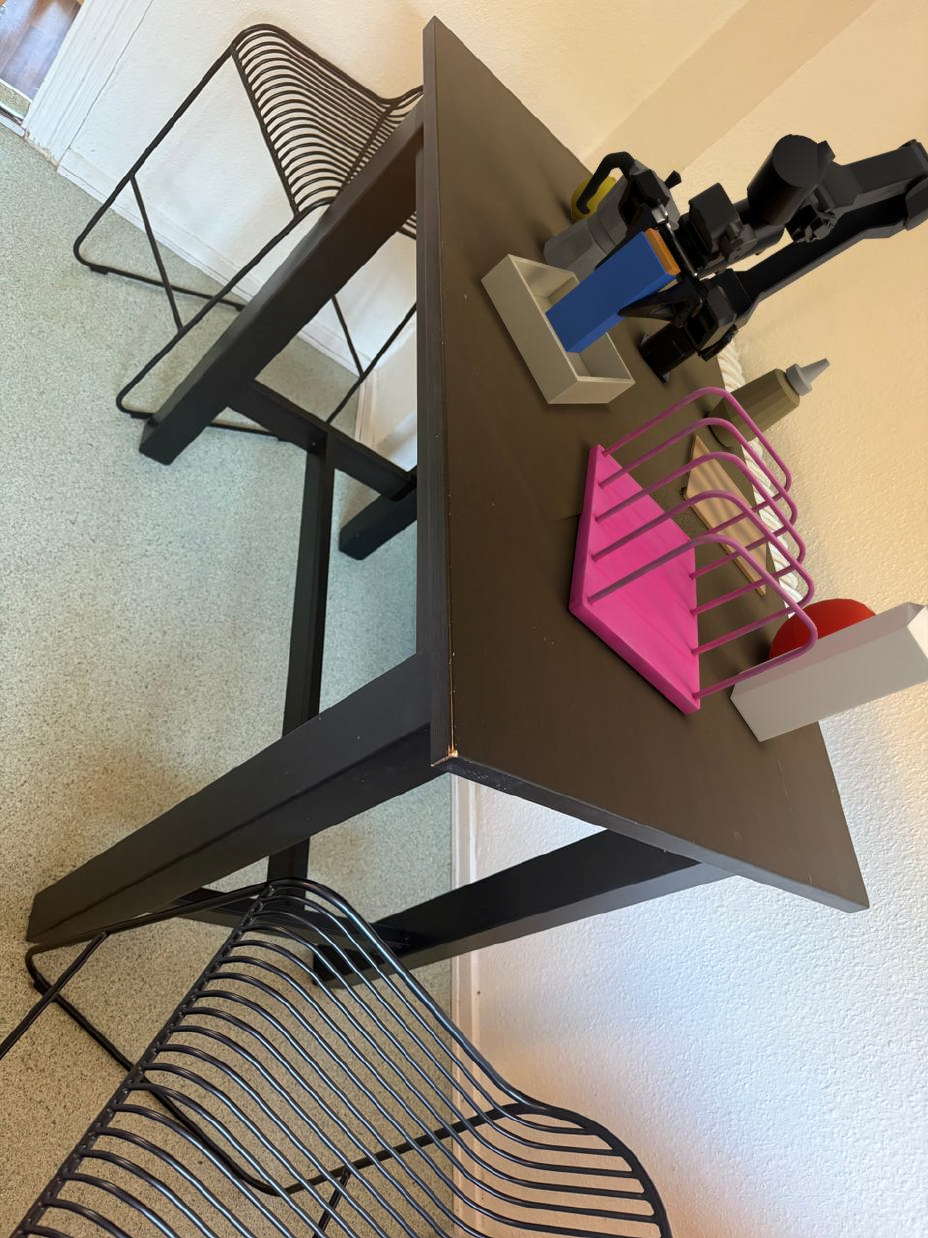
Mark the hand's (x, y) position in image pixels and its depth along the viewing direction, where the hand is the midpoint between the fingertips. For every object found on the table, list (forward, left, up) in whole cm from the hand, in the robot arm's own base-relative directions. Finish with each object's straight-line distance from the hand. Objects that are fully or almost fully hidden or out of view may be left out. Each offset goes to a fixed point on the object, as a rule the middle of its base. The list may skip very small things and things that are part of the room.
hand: (607, 290), depth 86 cm
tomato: (+7, +48, -10) cm, 49 cm away
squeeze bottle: (-35, +32, -10) cm, 48 cm away
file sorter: (+19, +22, -10) cm, 30 cm away
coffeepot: (-21, -3, -10) cm, 24 cm away
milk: (+18, +43, -10) cm, 47 cm away
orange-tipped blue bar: (-1, +1, -7) cm, 7 cm away
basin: (-1, +1, -10) cm, 10 cm away
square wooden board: (-15, +36, -10) cm, 40 cm away
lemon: (-41, -6, -10) cm, 43 cm away
